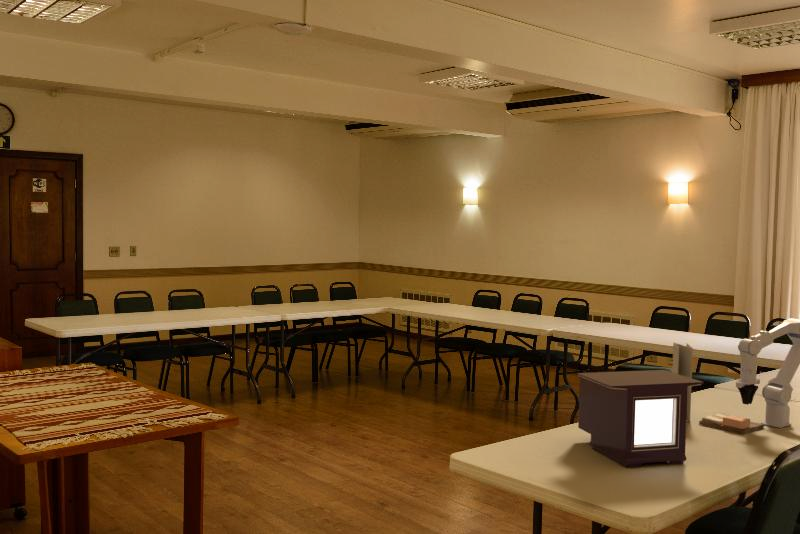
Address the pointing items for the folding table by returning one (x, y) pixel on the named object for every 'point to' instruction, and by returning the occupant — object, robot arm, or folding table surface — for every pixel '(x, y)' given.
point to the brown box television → (635, 415)
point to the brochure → (683, 367)
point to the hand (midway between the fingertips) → (747, 403)
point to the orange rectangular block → (736, 422)
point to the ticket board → (717, 423)
